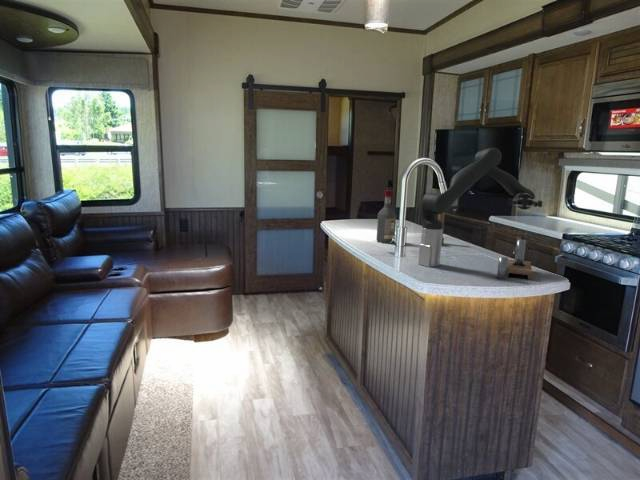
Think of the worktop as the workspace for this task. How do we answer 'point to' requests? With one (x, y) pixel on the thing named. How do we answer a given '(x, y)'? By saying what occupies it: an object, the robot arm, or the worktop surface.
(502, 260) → the short pin
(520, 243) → the long pin
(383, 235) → the liquor
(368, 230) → the worktop surface
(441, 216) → the wooden block
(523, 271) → the plate
